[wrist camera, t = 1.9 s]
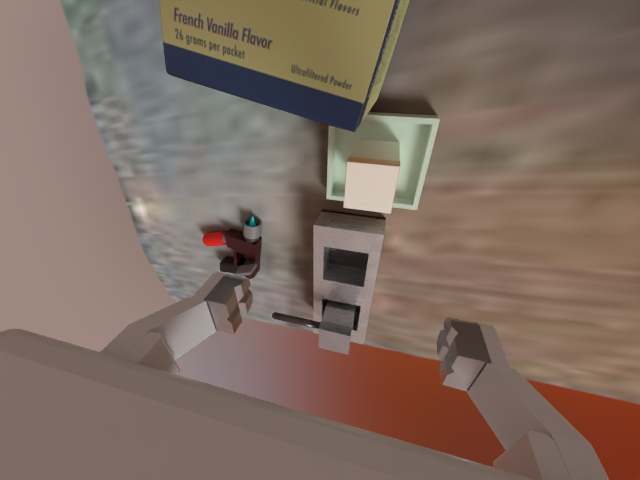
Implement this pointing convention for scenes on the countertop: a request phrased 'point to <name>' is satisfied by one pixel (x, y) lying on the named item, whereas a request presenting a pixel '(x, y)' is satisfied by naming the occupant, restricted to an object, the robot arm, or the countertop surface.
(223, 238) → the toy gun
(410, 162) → the tray
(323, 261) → the grey box with openings
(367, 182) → the plug
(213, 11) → the protein box
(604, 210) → the countertop surface
